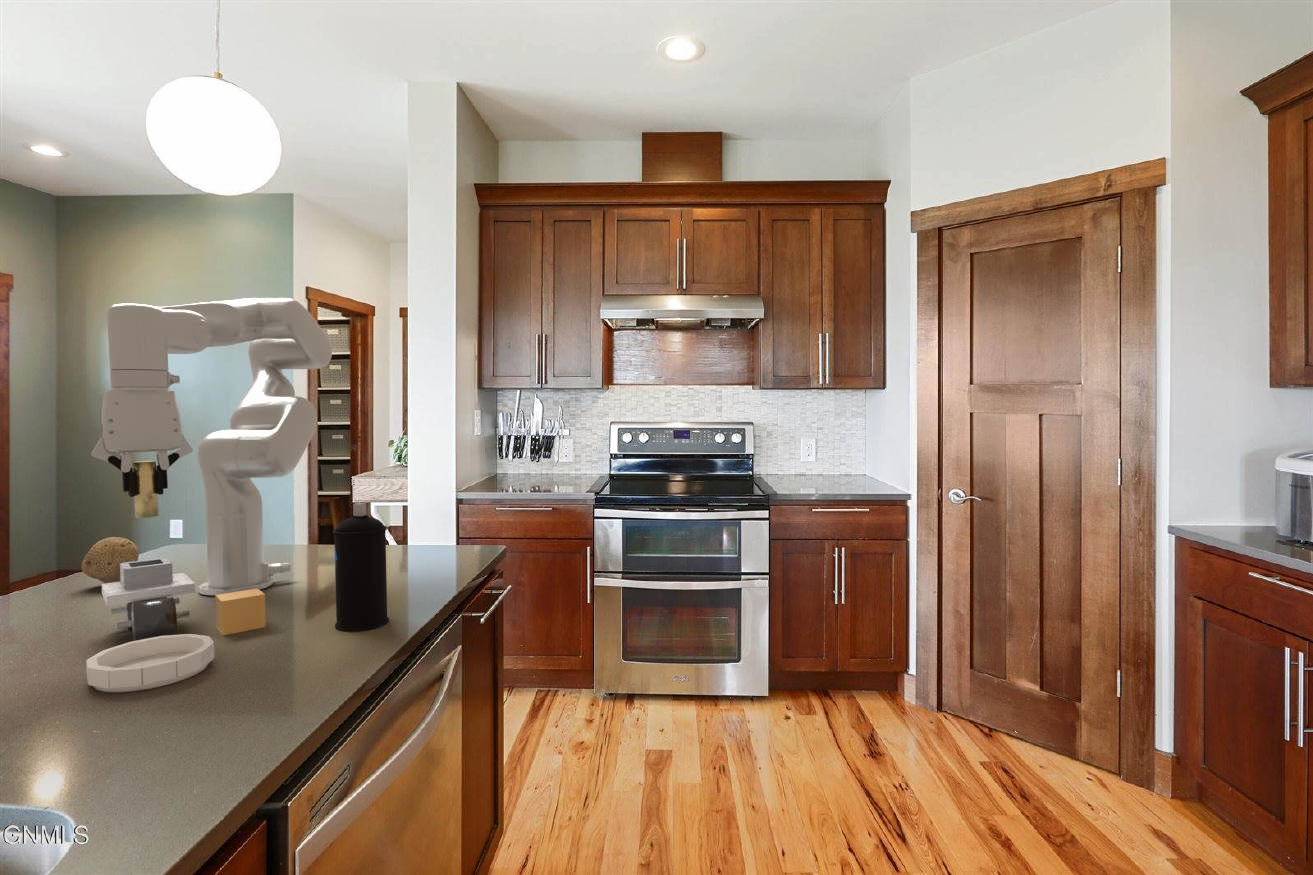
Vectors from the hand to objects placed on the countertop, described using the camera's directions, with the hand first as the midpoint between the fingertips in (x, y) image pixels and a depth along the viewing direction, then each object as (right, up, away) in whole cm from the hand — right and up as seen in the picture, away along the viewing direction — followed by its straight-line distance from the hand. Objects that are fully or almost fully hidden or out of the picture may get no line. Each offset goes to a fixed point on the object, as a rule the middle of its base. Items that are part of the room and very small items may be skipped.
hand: (145, 493), depth 109 cm
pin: (0, -4, 0) cm, 4 cm away
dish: (+16, -23, -19) cm, 34 cm away
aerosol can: (+35, -22, +1) cm, 41 cm away
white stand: (+2, -22, -2) cm, 22 cm away
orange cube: (+16, -22, 0) cm, 27 cm away
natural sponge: (-27, -21, +27) cm, 44 cm away
